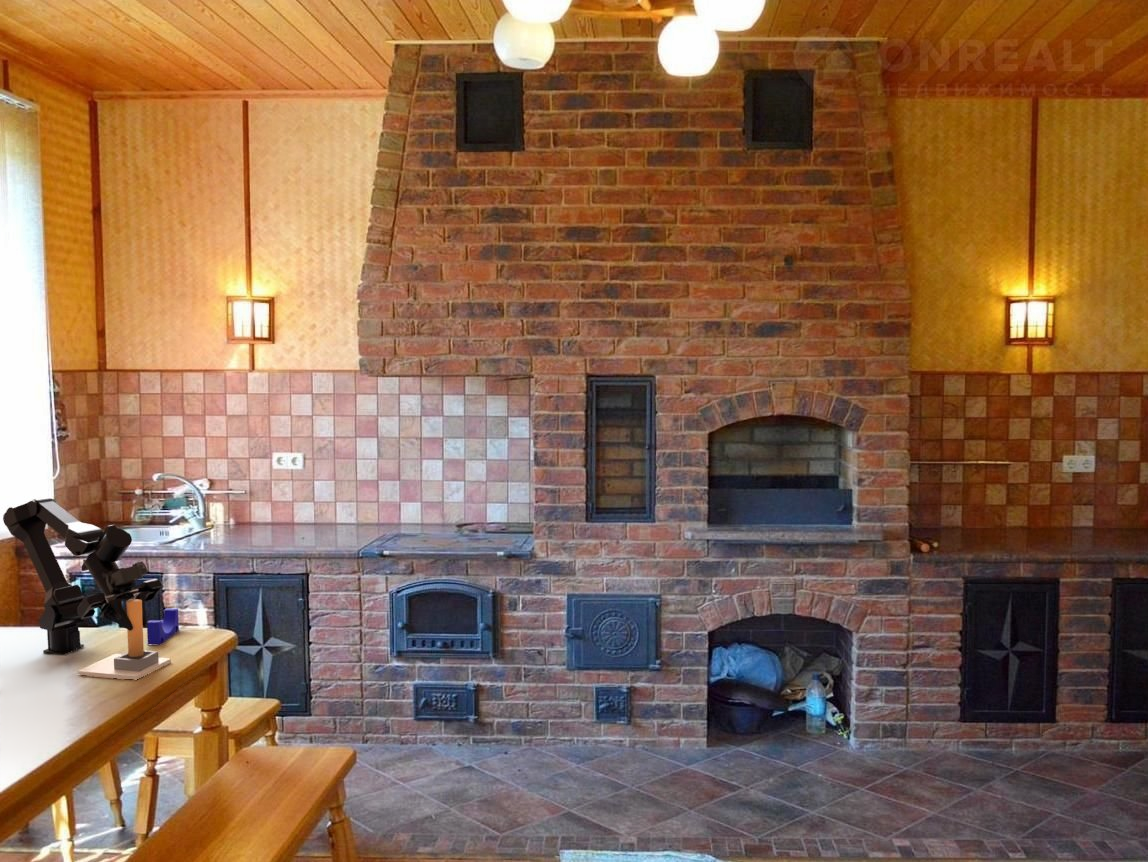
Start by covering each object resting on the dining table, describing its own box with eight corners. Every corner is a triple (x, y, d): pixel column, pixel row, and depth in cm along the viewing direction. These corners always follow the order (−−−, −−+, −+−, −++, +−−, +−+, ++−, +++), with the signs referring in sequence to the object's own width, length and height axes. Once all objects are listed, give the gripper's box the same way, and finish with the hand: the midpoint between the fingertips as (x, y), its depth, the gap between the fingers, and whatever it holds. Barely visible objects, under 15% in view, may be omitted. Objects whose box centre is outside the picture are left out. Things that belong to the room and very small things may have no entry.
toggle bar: (126, 657, 211) (124, 603, 210) (131, 652, 214) (129, 599, 213) (141, 656, 212) (139, 603, 210) (145, 651, 215) (143, 599, 213)
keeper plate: (78, 675, 210) (77, 660, 209) (115, 657, 221) (114, 643, 221) (136, 680, 206) (135, 665, 206) (170, 662, 218) (170, 648, 218)
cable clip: (161, 631, 243) (160, 608, 242) (178, 630, 243) (178, 608, 242) (141, 645, 231) (140, 622, 230) (159, 645, 231) (159, 622, 230)
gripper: (82, 560, 204) (116, 617, 200) (157, 545, 221) (189, 597, 216) (62, 590, 209) (94, 646, 205) (136, 573, 225) (168, 624, 221)
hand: (138, 627), depth 212 cm, fingers closed on toggle bar, 3 cm apart
